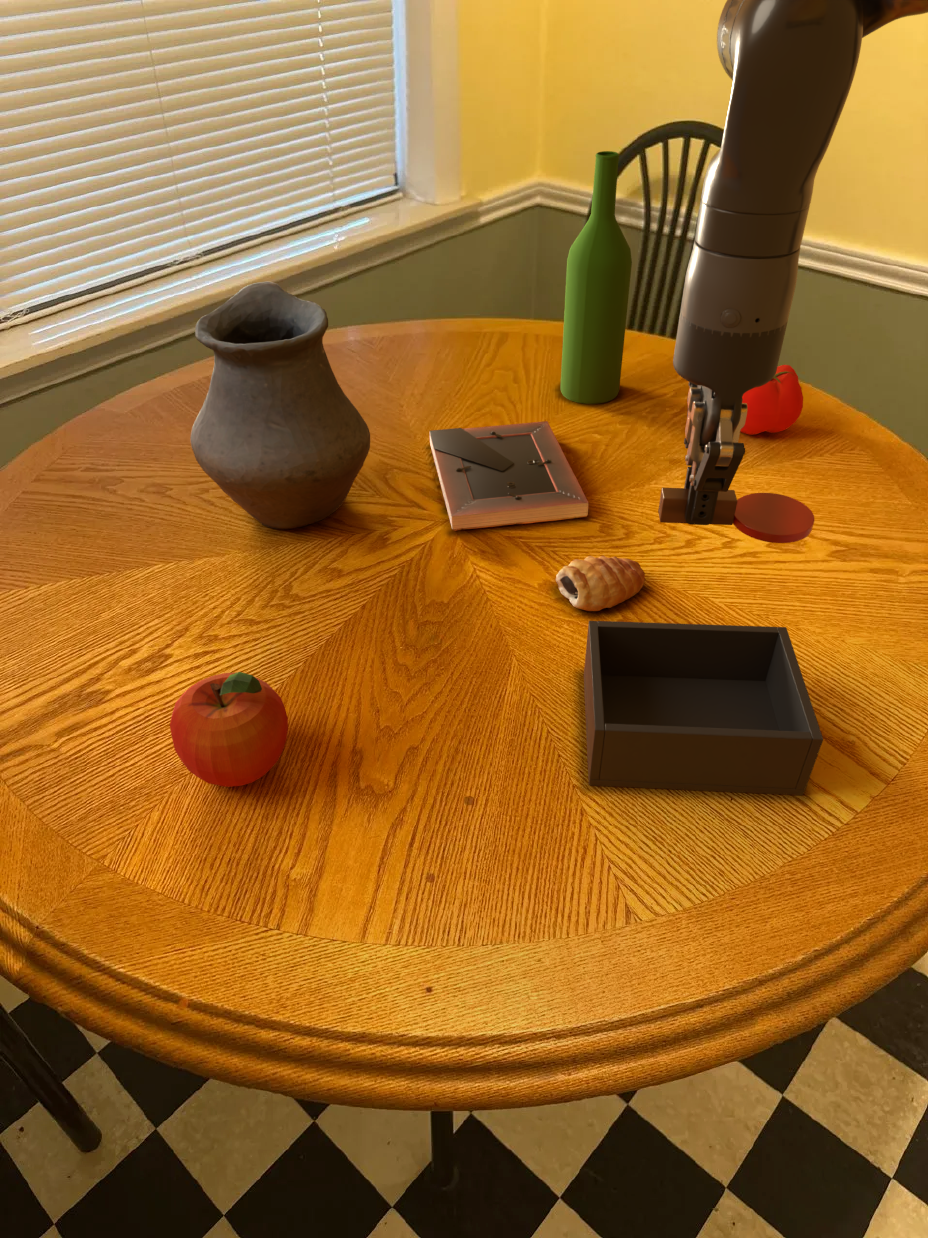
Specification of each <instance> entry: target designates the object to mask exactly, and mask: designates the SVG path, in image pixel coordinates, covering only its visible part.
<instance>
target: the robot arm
mask: <svg viewBox="0 0 928 1238" xmlns="http://www.w3.org/2000/svg"><path fill="white" fill-rule="evenodd" d="M924 14H928V0H726V1H725V3H724V6H723V8H722V10H721V13H720V15H719V19H718V24H717V30H716V49H717V54H718V59H719V61H720V64H721V66H722V68H723V70H724V72H725V73H726V75H727V76H728V78H730V80H731V81H732V82H731V89H730V95H729V102H728V106H727V111H726V113H727V114H726V116H725V117H726V118H725V123H724V127H723V133H722V138H721V139H722V140H721V146H720V148H719V149H718V150H717V151H716V152H715V153H714V154H713V155H712V157H711V158H710V161H709V163H708V166H707V168H706V172H705V175H704V180H703V184H702V189H701V190H702V191H701V196H700V201H699V202H700V203H699V207H698V208H699V209H698V214H697V220H696V228H695V234H694V240H693V246H692V250H691V254H690V258H689V260H688V265H687V268H686V273H685V278H684V283H683V291H682V297H681V303H680V311H679V317H678V324H677V331H676V337H675V338H676V339H675V343H674V344H675V345H674V350H673V351H674V352H673V359H672V366H673V369H674V370H675V372H676V373H677V375H679V377H681V378H682V379H684V380H685V381H687V382H688V387H689V389H688V394H687V400H686V402H687V414H686V415H687V416H686V423H685V429H684V434H685V437H684V440H683V444H684V447H685V449H686V450H687V451H686V454H685V456H684V457H685V458H684V461H685V464H686V466H687V468H686V469H687V470H686V473H685V480H684V486H683V488H687V489H689V494H688V500H687V506H686V512H685V519H686V522H687V523H688V525H691V526H709V525H712V524H711V523H712V521H713V517H714V512H715V507H716V502H717V497H718V492H727V491H728V490H730V487H731V485H732V483H733V480H734V477H735V476H736V473H737V471H738V469H739V467H740V465H741V463H742V460H743V458H744V456H745V454H746V447H745V443H744V442H739V440H740V435H741V432H740V430H741V429H742V428H743V427H744V425H745V421H746V416H747V403H742V401H743V399H742V396H743V394H744V393H745V392H747V391H749V390H750V389H753V388H755V387H760V386H762V385H764V384H766V383H768V382H769V381H770V380H771V379H772V378H773V377H774V376H775V374H776V371H777V367H778V366H779V361H780V356H781V353H782V348H783V344H784V340H785V335H786V331H787V328H788V327H787V326H788V322H789V317H790V313H791V308H792V304H793V300H794V296H795V291H796V286H797V281H798V274H799V273H798V271H799V259H800V252H801V246H802V241H803V238H804V235H805V234H804V233H805V229H806V224H807V221H808V215H809V211H810V206H811V203H812V198H813V192H814V186H815V185H814V184H815V179H816V175H817V173H818V170H819V167H820V166H821V163H822V162H823V159H824V158H825V155H826V153H827V150H828V148H829V146H830V143H831V141H832V138H833V136H834V133H835V130H836V128H837V125H838V123H839V119H840V118H841V115H842V112H843V110H844V108H845V105H846V102H847V99H848V96H849V93H850V90H851V87H852V86H853V85H852V84H853V81H854V78H855V75H856V71H857V68H858V63H859V60H860V59H859V58H860V54H861V48H862V43H863V38H866V36H869V35H871V34H872V33H874V32H876V31H878V30H879V29H881V28H883V27H884V26H886V25H888V24H890V23H892V22H895V21H896V20H899V19H902V18H907V17H912V16H913V17H914V16H919V15H924ZM687 523H686V524H687Z"/></svg>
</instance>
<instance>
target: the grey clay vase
mask: <svg viewBox="0 0 928 1238" xmlns="http://www.w3.org/2000/svg"><path fill="white" fill-rule="evenodd" d="M328 328H329V317H328V314H327V311H326V310H325V309H324V308H323V307H322V306H320V305H319V304H318V303H317V302H314V301H311V300H305V299H301V298H299V297H298V296H295V295H294V294H292V293H290V292H288V291H285V290H284V289H283V288H282V287H281V285H279V284H278V283H275V282H272V281H259V282H254V283H250V284H247V285H245V286H243V287H242V288H240V289H239V290H238V291H237V292H235V294H234V295H232V296H231V297H230V298H229V299H227V300H226V301H225V302H224V303H222V304H221V305H219V306H218V307H217V308H215V309H214V310H212V311H210V312H209V313H207V314H205V315H203V316H200V318H199V319H198V320H197V322H196V324H195V328H194V334H195V335H194V336H195V338H196V340H197V341H198V342H199V343H201V344H202V345H203V346H204V347H206V348H207V349H210V350H212V351H213V369H212V373H211V377H210V382H209V386H208V391H207V393H206V396H205V398H204V401H203V403H202V406H201V408H200V410H199V412H198V414H197V416H196V418H195V420H194V422H193V425H192V427H191V432H190V439H189V440H190V446H191V449H192V452H193V455H194V458H195V461H196V462H197V464H198V465H199V467H200V468H201V469H202V471H203V472H204V473H205V474H206V475H207V476H208V477H209V478H210V479H211V480H212V481H213V482H214V483H215V484H216V485H217V486H218V487H219V488H220V490H222V491H223V493H224V494H225V495H227V496H228V497H229V498H230V499H231V500H232V501H233V502H234V503H235V504H236V505H238V506H239V507H241V509H243V510H244V511H245V512H246V513H247V514H249V515H250V516H251V517H252V518H253V519H255V520H256V521H257V522H259V523H260V524H261V525H262V526H264V527H267V528H270V529H274V530H289V529H296V528H302V527H306V526H308V525H311V524H315V523H318V522H321V521H322V520H325V519H326V518H328V517H329V516H331V515H332V514H334V513H335V512H336V511H337V510H338V509H339V508H340V507H342V505H343V504H344V502H345V500H346V499H347V497H348V495H349V493H350V491H351V488H352V486H353V484H354V481H355V480H356V478H357V476H358V475H359V472H360V471H361V470H362V468H363V467H364V464H365V461H366V459H367V457H368V455H369V452H370V450H371V432H370V428H369V426H368V424H367V422H366V421H365V419H364V417H363V416H362V415H361V414H360V412H359V411H358V409H357V407H356V406H355V405H354V404H353V402H352V401H351V400H350V399H349V397H348V396H347V394H345V392H344V391H343V389H342V387H341V385H340V384H339V382H338V380H337V378H336V376H335V372H334V371H333V369H332V367H331V364H330V361H329V359H328V355H327V352H326V350H325V347H324V342H323V340H324V336H325V333H326V332H327V331H328Z"/></svg>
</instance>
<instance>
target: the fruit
mask: <svg viewBox="0 0 928 1238" xmlns="http://www.w3.org/2000/svg"><path fill="white" fill-rule="evenodd" d="M169 729H170V734H171V740H172V744H173V748H174V751H175V753H176V754H177V756H178V758H179V759H180V761H181V763H182V764H183V765H184V766H185V768H186V769H187V771H188V772H190V773H191V774H193V776H195V777H197V778H198V779H200V780H202V781H203V782H205V783H206V784H210V785H215V786H220V787H226V788H227V787H228V788H229V787H230V788H231V787H242V786H245V785H248V784H252V783H254V782H256V781H257V780H259V779H261V778H263V777H264V776H266V775H267V773H268V772H270V771H271V769H273V767H274V766H275V765H276V764H277V763H278V761H279V759H280V757H281V756H282V754H283V752H284V749H285V746H286V742H287V738H288V733H289V718H288V715H287V709H286V707H285V704H284V701H283V699H282V697H281V696H280V695H279V694H278V693H277V692H276V690H274V689H273V687H271V686H270V684H269V683H268V682H267V681H264V680H262V679H260V678H258V677H256V676H254V675H253V674H250V673H246V672H242V671H238V672H237V671H236V672H223V673H218V674H215V675H214V674H213V675H211V676H208V677H205V678H203V679H200V680H199V681H197V682H196V683H194V684H192V685H191V686H189V687H188V688H187V689H186V690H185V691H184V692H183V693H182V694H181V695H180V696H179V698H178V699H177V700H176V702H174V706H173V709H172V714H171V718H170V723H169Z"/></svg>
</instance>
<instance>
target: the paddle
mask: <svg viewBox="0 0 928 1238" xmlns="http://www.w3.org/2000/svg"><path fill="white" fill-rule="evenodd" d="M660 490H661V491H660V495H659V496H660V498H659V504H658V510H657V512H658V518H659V523H660V524H661V523H663V524H688V523H687V522H686V519H685V512H686V506H687V500H688V494H689V489H687V488H684V487H661V489H660ZM814 523H815V515H814V512H813V511H812V510H811V509H810V508H809V506H807V505H806V504H805V503H803V502H801V501H800V500H798V499H796V498H793V497H790V496H787V495H784V494H780V493H774V492H754V493H750V494H746V495H743V496H740V497H739V498H738V497H737V494H736V490H735V489H728V491H727V492H718V497H717V502H716V507H715V512H714V517H713V521H712V523H711V524H710V525H713V526H714V525H716V526H717V525H719V526H734V527H735V528H736V529H737V530H738V531H739V532H741V533H743V535H746V536H747V537H750V538H752V539H755V540H758V541H761V542H766V543H773V544H789V543H796V542H799V541H802V540H804V539H805V538H807V537H808V536H809V535H810V534H811V533H812V530H813V528H814V525H815V524H814ZM688 525H689V524H688Z"/></svg>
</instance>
